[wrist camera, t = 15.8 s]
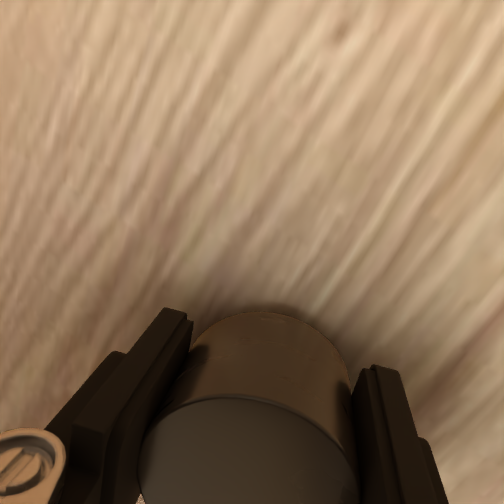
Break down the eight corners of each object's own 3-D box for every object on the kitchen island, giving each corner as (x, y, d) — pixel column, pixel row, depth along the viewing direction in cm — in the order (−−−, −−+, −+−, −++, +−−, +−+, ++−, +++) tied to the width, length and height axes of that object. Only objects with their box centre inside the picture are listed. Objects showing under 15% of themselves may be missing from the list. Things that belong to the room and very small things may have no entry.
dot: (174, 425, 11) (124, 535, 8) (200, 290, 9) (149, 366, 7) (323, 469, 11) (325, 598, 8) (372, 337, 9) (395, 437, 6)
